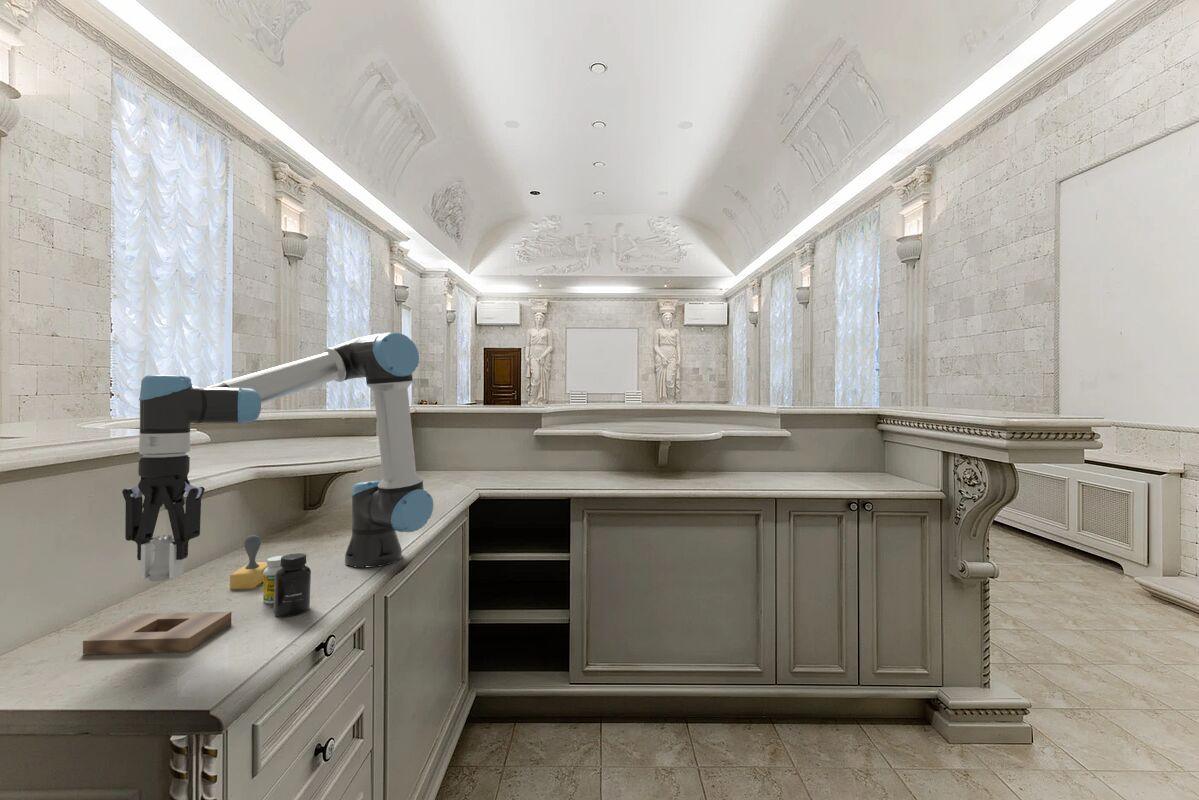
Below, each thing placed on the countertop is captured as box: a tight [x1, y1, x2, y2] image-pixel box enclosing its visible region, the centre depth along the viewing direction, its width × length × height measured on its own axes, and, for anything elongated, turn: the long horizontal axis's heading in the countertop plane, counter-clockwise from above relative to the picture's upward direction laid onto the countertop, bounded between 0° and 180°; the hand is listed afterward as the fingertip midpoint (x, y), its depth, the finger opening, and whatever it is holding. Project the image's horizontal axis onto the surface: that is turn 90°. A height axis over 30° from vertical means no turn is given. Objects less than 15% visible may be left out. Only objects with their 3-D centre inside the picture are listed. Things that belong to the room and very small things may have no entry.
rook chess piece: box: [147, 534, 174, 582], centre depth 98 cm, size 4×4×8 cm
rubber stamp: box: [229, 534, 268, 590], centre depth 130 cm, size 10×6×12 cm, turn 11°
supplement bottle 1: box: [262, 555, 283, 605], centre depth 118 cm, size 5×5×10 cm
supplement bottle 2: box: [273, 552, 312, 618], centre depth 112 cm, size 7×7×12 cm
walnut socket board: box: [82, 611, 232, 655], centre depth 98 cm, size 18×12×2 cm, turn 94°
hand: (162, 576), depth 98 cm, fingers closed on rook chess piece, 4 cm apart
